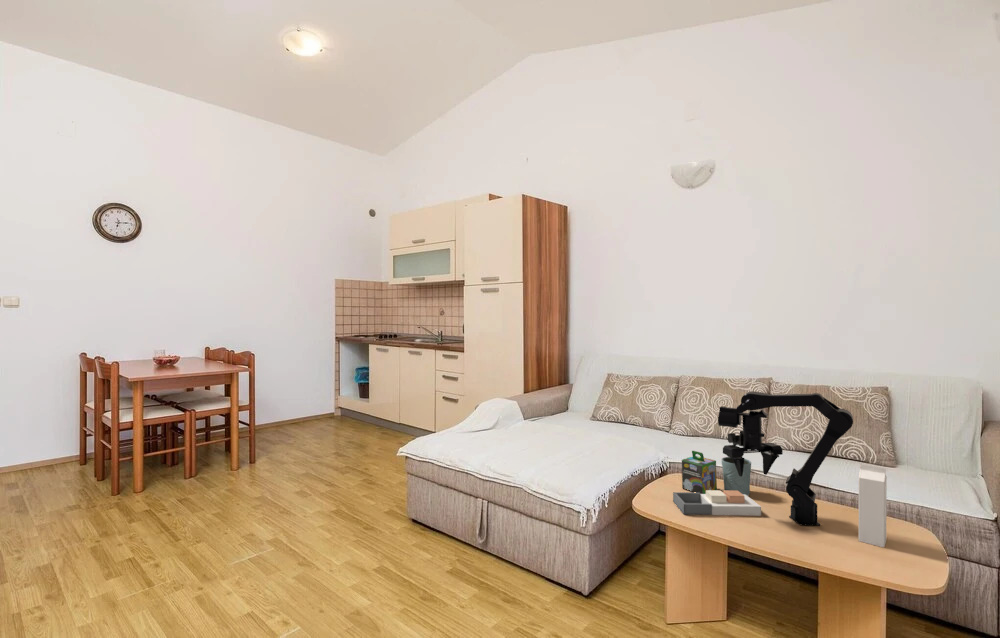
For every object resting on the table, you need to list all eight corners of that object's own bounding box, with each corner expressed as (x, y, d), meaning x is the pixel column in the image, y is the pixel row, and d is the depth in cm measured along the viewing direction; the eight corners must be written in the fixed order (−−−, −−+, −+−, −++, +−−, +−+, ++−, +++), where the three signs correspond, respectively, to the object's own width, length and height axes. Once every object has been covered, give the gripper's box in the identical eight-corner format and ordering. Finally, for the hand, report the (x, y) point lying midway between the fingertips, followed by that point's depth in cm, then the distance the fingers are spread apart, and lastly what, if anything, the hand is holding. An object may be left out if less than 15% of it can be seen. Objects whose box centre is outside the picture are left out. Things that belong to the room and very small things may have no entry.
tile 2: (737, 497, 169) (737, 490, 169) (744, 502, 164) (744, 495, 164) (723, 497, 169) (723, 490, 169) (729, 502, 164) (729, 495, 164)
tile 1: (720, 497, 169) (720, 490, 169) (726, 502, 164) (726, 495, 164) (705, 497, 169) (705, 490, 169) (711, 502, 164) (711, 495, 164)
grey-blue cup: (741, 499, 175) (741, 466, 175) (715, 490, 184) (715, 459, 184) (756, 493, 181) (756, 461, 181) (731, 485, 189) (731, 454, 189)
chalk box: (717, 491, 183) (717, 452, 183) (702, 496, 178) (702, 456, 178) (695, 484, 191) (695, 446, 191) (681, 488, 186) (681, 450, 186)
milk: (861, 534, 147) (861, 461, 147) (886, 541, 143) (886, 465, 143) (858, 541, 142) (858, 466, 142) (884, 548, 138) (884, 470, 138)
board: (745, 502, 172) (745, 494, 172) (761, 515, 161) (761, 506, 161) (699, 502, 172) (699, 493, 172) (712, 515, 161) (712, 506, 161)
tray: (699, 502, 172) (699, 492, 172) (711, 515, 161) (711, 504, 161) (673, 502, 173) (673, 492, 173) (683, 514, 162) (683, 504, 162)
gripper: (760, 423, 174) (761, 466, 174) (712, 425, 171) (713, 469, 171) (783, 429, 163) (784, 476, 163) (732, 432, 160) (733, 480, 160)
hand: (752, 475), depth 165 cm, fingers open, 9 cm apart
